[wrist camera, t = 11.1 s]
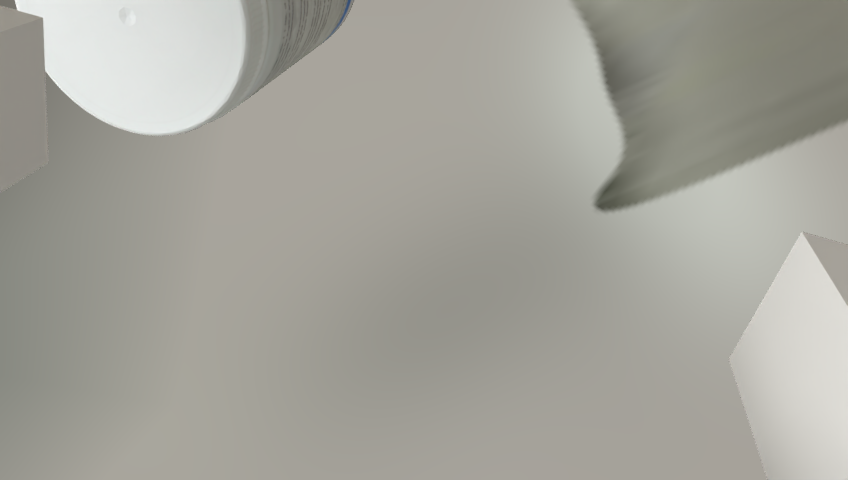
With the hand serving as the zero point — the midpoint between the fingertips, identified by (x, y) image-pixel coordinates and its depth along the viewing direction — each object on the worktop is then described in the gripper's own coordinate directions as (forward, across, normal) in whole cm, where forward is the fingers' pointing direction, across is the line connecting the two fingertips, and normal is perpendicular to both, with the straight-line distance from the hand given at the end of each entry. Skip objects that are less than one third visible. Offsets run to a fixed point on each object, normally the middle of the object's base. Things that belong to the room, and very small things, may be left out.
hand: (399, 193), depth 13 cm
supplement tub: (+28, -12, -3) cm, 31 cm away
